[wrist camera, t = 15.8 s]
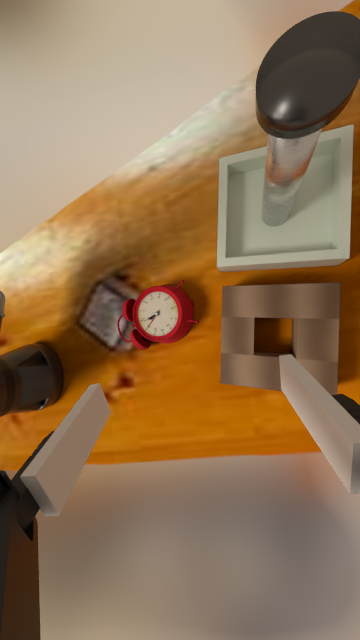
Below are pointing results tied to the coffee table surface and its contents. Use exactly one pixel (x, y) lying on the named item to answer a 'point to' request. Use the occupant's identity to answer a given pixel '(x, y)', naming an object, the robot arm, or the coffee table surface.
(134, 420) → the coffee table surface
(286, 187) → the steel pin
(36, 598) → the robot arm
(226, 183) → the sage tray
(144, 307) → the alarm clock
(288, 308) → the brown square frame
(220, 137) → the coffee table surface
